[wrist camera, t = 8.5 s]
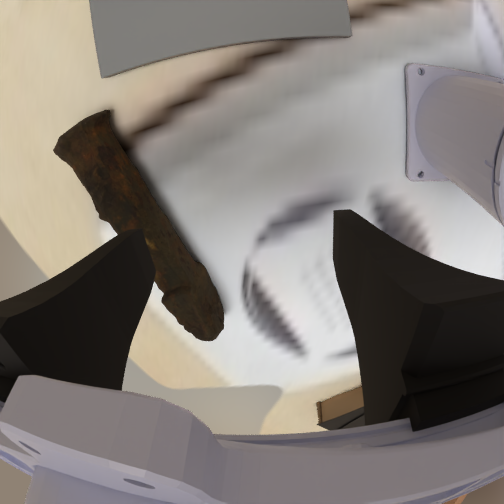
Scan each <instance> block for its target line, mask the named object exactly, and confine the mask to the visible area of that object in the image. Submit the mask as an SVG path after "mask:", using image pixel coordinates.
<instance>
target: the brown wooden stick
mask: <svg viewBox="0 0 504 504" xmlns="http://www.w3.org/2000/svg"><path fill="white" fill-rule="evenodd" d="M109 117H110V110H104V111H103V112H99V113H96V114H94V115H91V116H89V117H87V118H85V119H83V120H82V121H80V122H79V123H78V124H76V125H75V126H73V127H72V128H71V129H69V130H68V131H67V132H66V133H64V134H63V135H61V136H60V137H59V139H58V142H57V144H56V146H55V148H54V150H53V151H54V153H55V154H56V155H58V156H59V158H61V159H62V160H63V161H65V162H67V164H68V165H70V166H71V167H72V168H73V170H74V172H75V173H76V175H77V177H78V178H79V180H80V181H81V183H82V184H83V186H85V188H86V190H87V191H88V193H89V194H90V196H91V197H92V200H93V203H94V205H95V208H96V211H97V212H98V213H99V218H100V219H101V220H104V221H107V222H109V223H110V225H111V226H112V228H113V229H114V230H115V232H116V233H117V234H118V235H119V234H121V233H123V232H125V231H127V230H130V229H139V228H142V230H143V233H144V236H145V240H146V243H147V246H148V249H149V252H150V254H151V257H152V260H153V263H154V266H155V269H156V274H155V278H154V281H155V283H156V284H157V286H158V288H159V289H160V290H161V291H162V292H163V293H164V295H163V297H162V301H161V302H162V303H163V305H164V306H165V307H166V308H167V310H168V311H169V312H170V313H172V314H173V315H174V316H175V317H176V319H177V321H178V323H179V324H181V325H183V326H184V329H185V330H186V331H188V332H190V333H192V334H193V335H194V336H195V337H196V338H197V339H199V340H202V341H213V340H214V339H216V338H217V336H218V335H219V334H220V332H221V331H222V330H223V329H224V312H223V307H222V304H221V301H220V298H219V296H218V294H217V291H216V288H215V287H214V286H213V284H212V282H211V279H210V277H209V275H208V273H207V271H206V269H205V267H204V266H203V264H202V263H200V262H195V261H194V260H193V258H192V257H191V255H190V254H189V253H188V251H187V250H186V248H185V246H184V245H183V243H182V242H181V240H180V238H179V237H178V235H177V234H176V232H175V231H174V229H173V227H172V225H171V223H170V221H169V220H168V218H167V216H166V215H165V214H164V213H163V212H162V211H161V209H160V208H159V206H158V205H157V203H156V201H155V200H154V198H153V197H152V195H151V193H150V192H149V190H148V188H147V186H146V184H145V182H144V181H143V179H142V178H141V176H140V174H139V172H138V170H137V168H136V167H135V166H134V165H133V164H132V163H131V161H130V160H129V158H128V157H127V155H126V153H125V152H124V150H123V149H122V147H121V146H120V144H119V142H118V141H117V139H116V138H115V136H114V134H113V132H112V130H111V128H110V124H109Z"/></svg>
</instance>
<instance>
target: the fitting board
mask: <svg viewBox="0 0 504 504" xmlns="http://www.w3.org/2000/svg"><path fill="white" fill-rule="evenodd" d="M89 2H90V11H91V19H92V26H93V33H94V39H95V45H96V51H97V57H98V63H99V68H100V73H101V78H107V77H111V76H114V75H117V74H120V73H123V72H126V71H129V70H132V69H135V68H138V67H141V66H145V65H148V64H151V63H155V62H159V61H162V60H166V59H170V58H174V57H178V56H182V55H186V54H191V53H195V52H200V51H205V50H210V49H215V48H221V47H227V46H233V45H239V44H247V43H254V42H263V41H272V40H284V39H298V38H325V37H347V38H348V37H351V36H352V30H351V23H350V16H349V10H348V4H347V0H89Z"/></svg>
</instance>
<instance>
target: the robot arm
mask: <svg viewBox="0 0 504 504" xmlns="http://www.w3.org/2000/svg"><path fill="white" fill-rule="evenodd" d="M419 68H420V69H421V70H422V74H421V75H419V74H418V69H419ZM405 73H406V91H407V167H406V175H407V177H408V178H409V179H410V180H411V181H447V180H451V181H452V182H453V183H455V184H456V185H457V186H458V187H460V188H461V189H462V190H463V191H464V192H466V193H467V194H468V195H469V196H470V197H472V198H473V199H474V200H475V201H476V202H477V203H479V204H480V205H481V206H482V207H483V208H484V209H485V210H487V211H488V212H489V213H490V214H491V215H492V216H493V217H494V218H495V219H496V220H497V221H499V222H500V223H501V224H502V225H503V226H504V80H503V79H499V78H495V77H491V76H487V75H483V74H478V73H473V72H468V71H463V70H457V69H451V68H445V67H438V66H431V65H423V64H414V63H411V64H408V65H407V66H406V68H405ZM419 171H422V173H421V175H420V176H418V172H419ZM333 262H334V267H335V272H336V277H337V282H338V285H339V288H340V291H341V294H342V297H343V300H344V303H345V306H346V310H347V313H348V316H349V319H350V322H351V325H352V329H353V333H354V337H355V342H356V348H357V354H358V360H359V368H360V375H361V383H362V392H363V402H364V415H365V426H361V427H355V428H347V429H339V430H331V431H321V432H310V433H296V434H274V435H223V434H212V432H211V430H210V429H209V428H208V427H207V426H206V424H204V423H203V422H202V421H201V420H200V419H199V418H197V417H196V416H195V415H194V414H193V413H192V412H190V411H189V410H186V409H184V408H182V407H180V406H177V405H175V404H172V403H170V402H168V401H166V400H163V399H160V398H156V397H151V396H147V395H142V394H138V393H134V392H127V391H122V384H123V377H124V373H125V367H126V362H127V358H128V354H129V350H130V346H131V342H132V339H133V336H134V334H135V331H136V329H137V326H138V324H139V321H140V318H141V316H142V314H143V311H144V309H145V306H146V304H147V301H148V299H149V296H150V293H151V290H152V287H153V283H154V278H155V274H156V269H155V266H154V263H153V260H152V257H151V254H150V252H149V249H148V246H147V243H146V240H145V236H144V233H143V230H142V228H139V229H130V230H127V231H125V232H123V233H121V234H119V235H117V236H116V237H114V238H113V239H111V240H109V241H108V242H106V243H105V244H104V245H102V246H101V247H99V248H98V249H96V250H95V251H93V252H92V253H91V254H89V255H88V256H86V257H85V258H83V259H82V260H80V261H79V262H77V263H76V264H74V265H73V266H71V267H70V268H68V269H67V270H65V271H63V272H62V273H60V274H58V275H56V276H55V277H53V278H51V279H50V280H48V281H46V282H44V283H42V284H40V285H38V286H36V287H34V288H32V289H30V290H28V291H26V292H23V293H21V294H19V295H16V296H14V297H12V298H9V299H6V300H3V301H1V302H0V459H2V460H4V461H5V462H7V463H9V464H10V465H12V466H14V467H15V468H17V469H19V470H21V471H23V472H24V473H26V474H28V475H30V476H32V479H31V482H30V485H29V489H28V492H27V495H26V499H25V503H24V504H442V503H445V502H447V501H450V500H452V499H455V498H457V497H460V496H462V495H465V494H467V493H469V492H471V491H474V490H476V489H478V488H480V487H482V486H485V485H486V484H489V483H491V482H493V481H495V480H497V479H499V478H501V477H502V476H504V354H503V353H504V281H503V280H499V279H495V278H490V277H486V276H481V275H477V274H474V273H470V272H467V271H464V270H461V269H458V268H455V267H452V266H449V265H447V264H444V263H442V262H439V261H437V260H434V259H432V258H430V257H427V256H425V255H423V254H421V253H419V252H417V251H415V250H413V249H411V248H409V247H407V246H406V245H404V244H402V243H400V242H399V241H397V240H396V239H394V238H392V237H391V236H389V235H387V234H386V233H384V232H383V231H381V230H380V229H378V228H377V227H376V226H374V225H373V224H371V223H370V222H368V221H367V220H366V219H364V218H363V217H361V216H360V215H358V214H357V213H355V212H354V211H352V210H350V209H349V210H334V222H333Z"/></svg>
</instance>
